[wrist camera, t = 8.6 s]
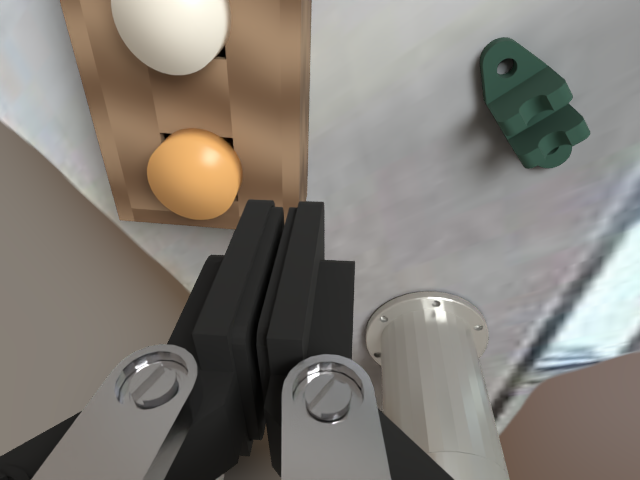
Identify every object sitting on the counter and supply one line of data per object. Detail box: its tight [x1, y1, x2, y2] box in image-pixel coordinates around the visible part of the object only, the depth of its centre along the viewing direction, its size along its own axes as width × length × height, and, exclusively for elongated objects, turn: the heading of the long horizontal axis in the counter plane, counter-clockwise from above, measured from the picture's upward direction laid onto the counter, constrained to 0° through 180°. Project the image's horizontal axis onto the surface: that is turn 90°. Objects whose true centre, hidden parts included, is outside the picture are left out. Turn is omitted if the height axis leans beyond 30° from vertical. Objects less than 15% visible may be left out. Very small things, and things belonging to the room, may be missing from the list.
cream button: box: [111, 0, 231, 75], centre depth 26 cm, size 6×6×6 cm
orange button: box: [147, 128, 243, 220], centre depth 32 cm, size 6×6×6 cm
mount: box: [480, 37, 590, 169], centre depth 31 cm, size 11×4×5 cm, turn 39°
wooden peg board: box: [60, 0, 312, 229], centre depth 31 cm, size 20×14×6 cm
